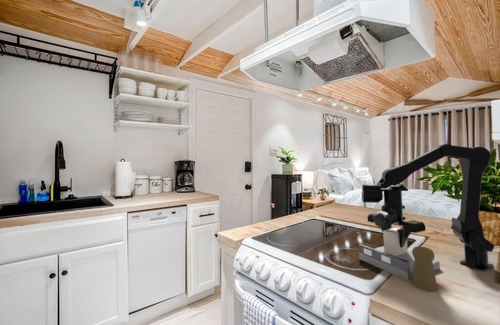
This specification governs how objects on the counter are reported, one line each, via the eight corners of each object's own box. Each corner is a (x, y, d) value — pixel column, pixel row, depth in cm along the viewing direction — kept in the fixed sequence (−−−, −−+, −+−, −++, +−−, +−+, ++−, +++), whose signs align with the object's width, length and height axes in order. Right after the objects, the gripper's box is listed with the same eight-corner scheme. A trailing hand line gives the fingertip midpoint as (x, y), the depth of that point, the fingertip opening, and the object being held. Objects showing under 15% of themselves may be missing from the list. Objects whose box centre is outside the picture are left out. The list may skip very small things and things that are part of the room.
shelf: (388, 251, 94) (388, 237, 94) (439, 268, 78) (438, 252, 78) (359, 259, 88) (358, 244, 88) (407, 280, 71) (406, 262, 71)
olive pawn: (412, 278, 72) (411, 242, 72) (438, 284, 69) (436, 246, 69) (410, 287, 68) (409, 249, 68) (437, 293, 64) (435, 253, 64)
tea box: (395, 255, 84) (394, 233, 84) (383, 251, 88) (382, 230, 88) (407, 252, 86) (406, 230, 86) (395, 248, 90) (394, 227, 90)
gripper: (356, 201, 92) (358, 241, 92) (403, 209, 75) (405, 258, 75) (376, 198, 97) (378, 236, 97) (425, 205, 80) (427, 251, 80)
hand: (394, 245), depth 87 cm, fingers closed on tea box, 5 cm apart
